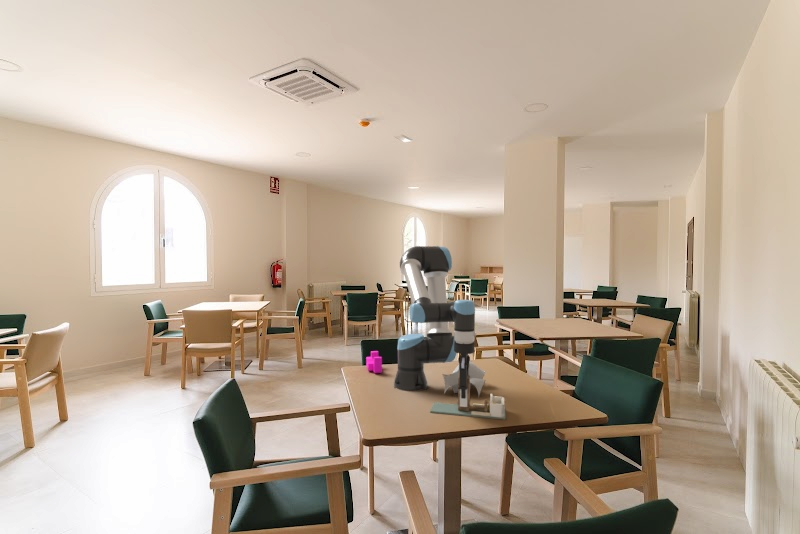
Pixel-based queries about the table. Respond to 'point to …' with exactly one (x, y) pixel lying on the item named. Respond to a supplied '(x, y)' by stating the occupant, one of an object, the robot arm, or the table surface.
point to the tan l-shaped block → (469, 399)
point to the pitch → (453, 410)
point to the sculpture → (475, 378)
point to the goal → (496, 406)
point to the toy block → (374, 362)
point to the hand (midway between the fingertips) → (464, 403)
